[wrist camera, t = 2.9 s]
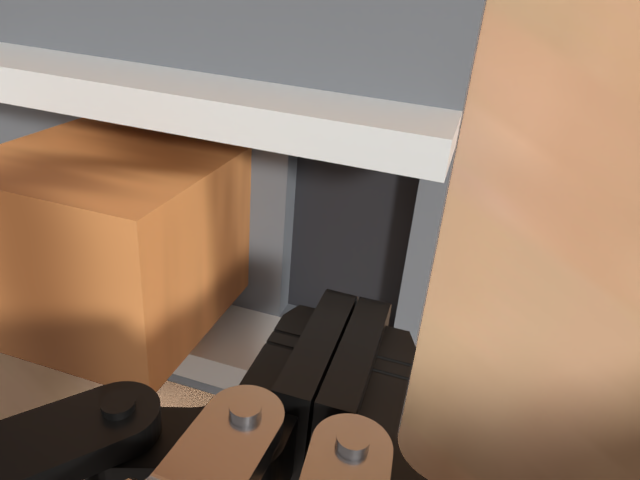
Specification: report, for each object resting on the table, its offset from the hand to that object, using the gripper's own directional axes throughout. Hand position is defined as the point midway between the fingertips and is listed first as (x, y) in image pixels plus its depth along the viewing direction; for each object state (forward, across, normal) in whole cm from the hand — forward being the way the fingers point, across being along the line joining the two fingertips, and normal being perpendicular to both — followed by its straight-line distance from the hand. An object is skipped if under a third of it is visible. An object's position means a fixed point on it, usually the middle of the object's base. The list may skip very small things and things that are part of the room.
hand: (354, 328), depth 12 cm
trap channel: (+6, +10, 0) cm, 11 cm away
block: (+5, +8, 0) cm, 9 cm away
